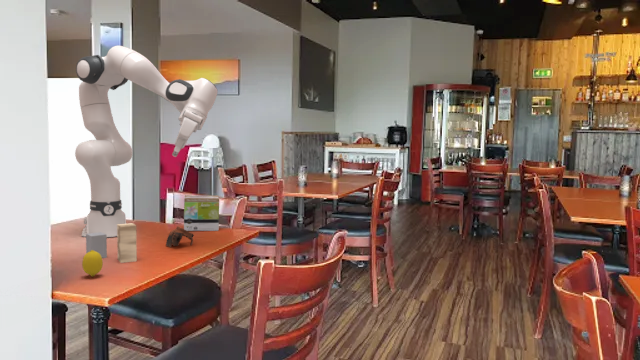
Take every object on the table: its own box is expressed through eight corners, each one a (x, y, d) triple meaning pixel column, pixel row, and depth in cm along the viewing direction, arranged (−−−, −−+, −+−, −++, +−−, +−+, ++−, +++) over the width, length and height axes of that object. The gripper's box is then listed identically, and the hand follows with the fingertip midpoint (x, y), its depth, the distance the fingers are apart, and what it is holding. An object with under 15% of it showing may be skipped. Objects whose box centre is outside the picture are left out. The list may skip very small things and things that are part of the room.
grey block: (86, 257, 176) (86, 233, 176) (101, 254, 180) (101, 232, 179) (91, 259, 173) (91, 236, 172) (106, 257, 176) (106, 234, 175)
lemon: (86, 274, 156) (85, 247, 155) (105, 274, 156) (105, 248, 156) (79, 279, 150) (79, 252, 150) (99, 279, 151) (98, 252, 150)
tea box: (183, 231, 223) (183, 197, 221) (184, 227, 232) (184, 194, 231) (219, 231, 226) (219, 197, 225) (218, 226, 236) (218, 194, 235)
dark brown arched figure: (166, 244, 200) (176, 225, 202) (187, 255, 200) (198, 236, 202) (159, 243, 188) (171, 222, 190) (183, 254, 189) (194, 234, 190)
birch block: (117, 259, 174) (117, 224, 172) (133, 257, 176) (133, 223, 175) (120, 262, 169) (120, 226, 168) (137, 261, 172) (136, 225, 171)
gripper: (181, 122, 197) (165, 154, 193) (186, 109, 178) (168, 145, 174) (196, 129, 198) (180, 161, 195) (202, 117, 179) (185, 153, 176)
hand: (174, 153), depth 185 cm, fingers open, 8 cm apart
